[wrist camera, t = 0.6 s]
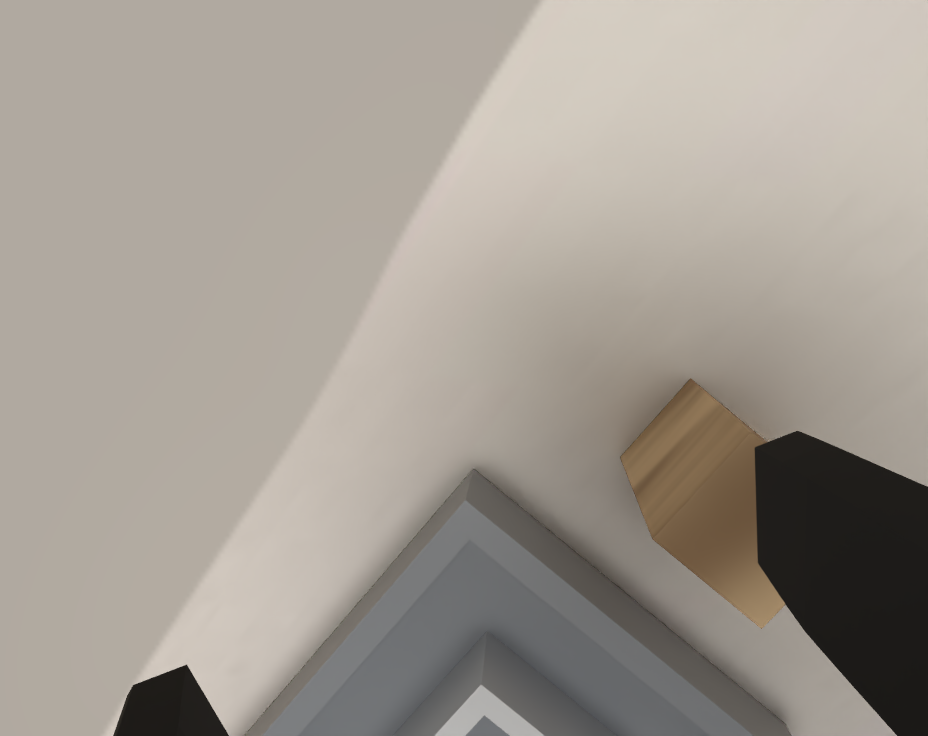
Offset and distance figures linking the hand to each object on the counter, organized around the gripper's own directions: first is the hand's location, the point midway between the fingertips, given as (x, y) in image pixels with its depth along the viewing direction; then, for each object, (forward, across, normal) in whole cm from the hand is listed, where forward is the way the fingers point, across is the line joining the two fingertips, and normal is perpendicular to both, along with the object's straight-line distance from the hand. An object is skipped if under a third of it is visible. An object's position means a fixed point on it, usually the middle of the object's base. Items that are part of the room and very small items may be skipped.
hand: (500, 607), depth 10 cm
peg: (+16, -11, +14) cm, 23 cm away
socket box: (+14, -1, +23) cm, 27 cm away
